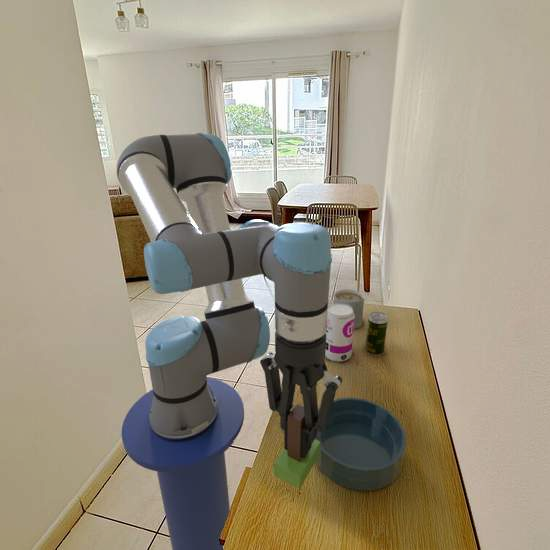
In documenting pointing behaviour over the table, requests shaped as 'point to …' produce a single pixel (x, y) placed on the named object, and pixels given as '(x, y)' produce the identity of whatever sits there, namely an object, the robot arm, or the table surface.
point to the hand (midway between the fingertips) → (297, 447)
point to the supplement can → (339, 332)
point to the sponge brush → (295, 452)
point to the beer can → (376, 333)
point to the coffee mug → (351, 303)
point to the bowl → (361, 445)
